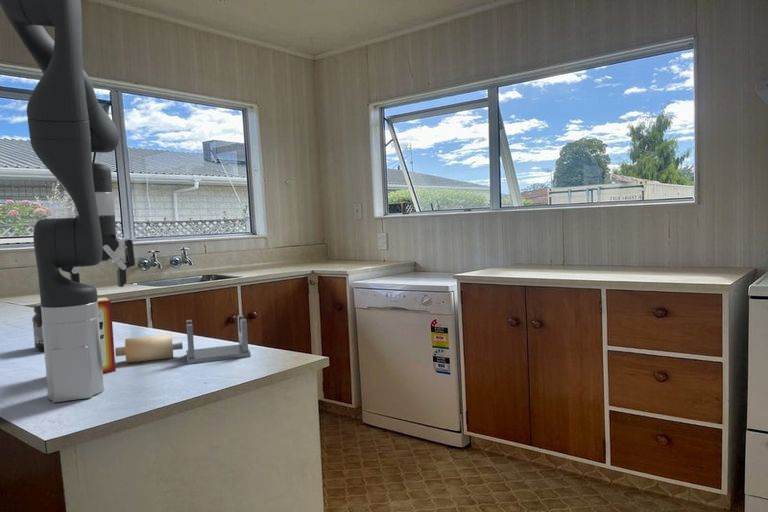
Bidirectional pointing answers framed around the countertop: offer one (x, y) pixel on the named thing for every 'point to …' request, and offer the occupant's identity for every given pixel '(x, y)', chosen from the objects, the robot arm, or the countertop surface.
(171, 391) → the countertop surface
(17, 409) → the countertop surface
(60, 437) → the countertop surface
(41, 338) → the supplement container
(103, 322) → the baking soda box
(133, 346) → the paper roll
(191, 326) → the roll holder
